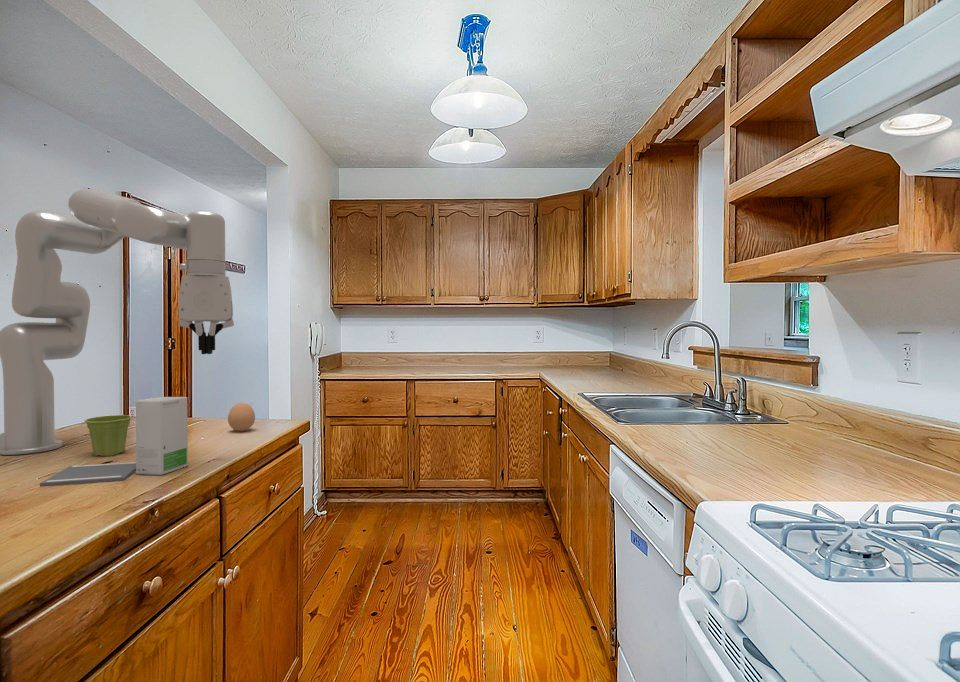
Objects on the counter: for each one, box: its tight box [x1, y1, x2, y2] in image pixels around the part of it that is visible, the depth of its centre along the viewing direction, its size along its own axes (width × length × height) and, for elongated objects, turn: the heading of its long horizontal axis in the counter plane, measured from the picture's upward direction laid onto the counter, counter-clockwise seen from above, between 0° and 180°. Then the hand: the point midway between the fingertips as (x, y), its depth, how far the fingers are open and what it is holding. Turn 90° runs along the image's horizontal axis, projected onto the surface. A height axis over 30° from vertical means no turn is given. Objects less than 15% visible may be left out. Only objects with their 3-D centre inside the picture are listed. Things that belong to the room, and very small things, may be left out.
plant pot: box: [84, 414, 133, 457], centre depth 127 cm, size 9×9×9 cm
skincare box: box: [134, 396, 189, 476], centre depth 113 cm, size 8×7×16 cm
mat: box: [39, 461, 136, 487], centre depth 109 cm, size 14×13×1 cm
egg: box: [227, 402, 256, 432], centre depth 155 cm, size 7×7×8 cm
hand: (207, 353), depth 115 cm, fingers closed
